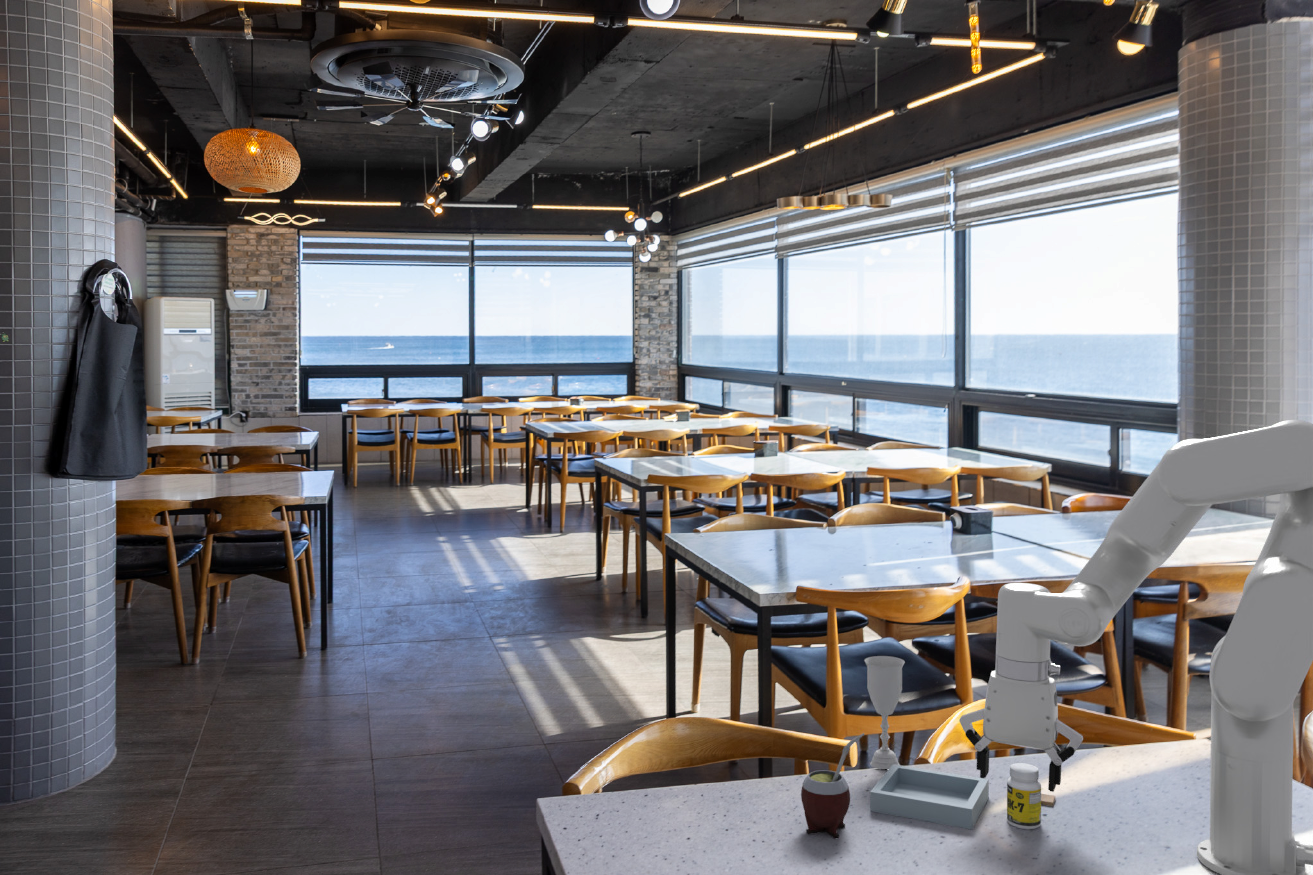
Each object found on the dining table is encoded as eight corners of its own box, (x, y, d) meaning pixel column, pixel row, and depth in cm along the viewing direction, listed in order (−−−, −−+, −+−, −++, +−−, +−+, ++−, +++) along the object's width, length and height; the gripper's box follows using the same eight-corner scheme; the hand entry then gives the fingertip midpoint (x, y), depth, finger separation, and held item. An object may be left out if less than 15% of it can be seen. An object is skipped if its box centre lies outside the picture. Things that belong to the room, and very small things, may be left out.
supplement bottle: (999, 820, 154) (1000, 764, 153) (1023, 814, 156) (1024, 759, 155) (1023, 832, 149) (1024, 775, 149) (1048, 826, 151) (1048, 770, 151)
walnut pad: (1055, 799, 161) (1055, 795, 161) (1052, 806, 159) (1052, 802, 159) (1015, 793, 164) (1015, 789, 164) (1012, 799, 161) (1012, 795, 161)
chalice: (906, 773, 173) (905, 667, 173) (864, 770, 175) (864, 665, 174) (904, 758, 180) (904, 656, 180) (864, 756, 182) (864, 655, 181)
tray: (988, 797, 162) (988, 779, 162) (972, 829, 151) (972, 809, 150) (893, 782, 169) (893, 764, 169) (870, 810, 158) (870, 791, 158)
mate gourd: (793, 824, 153) (792, 725, 152) (839, 816, 156) (838, 718, 155) (818, 844, 146) (817, 740, 146) (866, 835, 149) (865, 733, 148)
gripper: (1087, 670, 151) (1083, 784, 152) (967, 654, 159) (963, 762, 160) (1082, 683, 144) (1077, 802, 145) (956, 665, 153) (953, 778, 153)
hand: (1017, 781), depth 153 cm, fingers open, 9 cm apart
